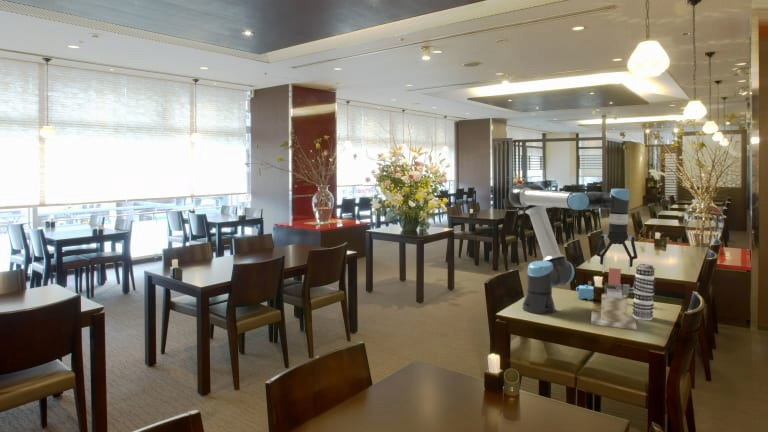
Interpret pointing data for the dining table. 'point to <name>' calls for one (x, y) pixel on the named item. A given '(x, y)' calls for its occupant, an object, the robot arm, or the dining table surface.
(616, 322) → the hitch block
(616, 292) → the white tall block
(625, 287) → the mechanical component
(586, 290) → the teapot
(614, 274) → the keeper flap
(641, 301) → the black and white tower
